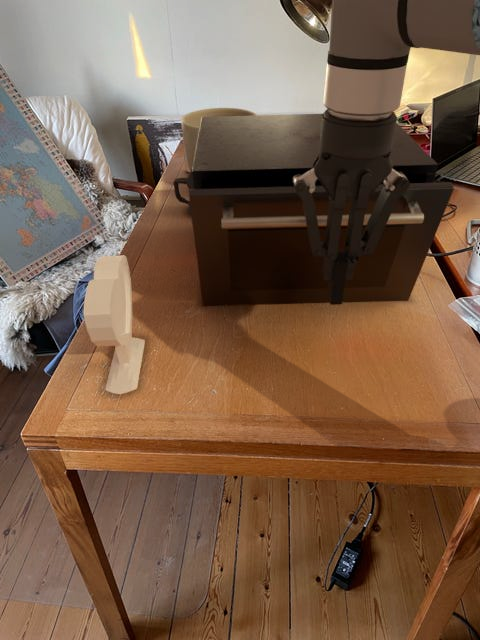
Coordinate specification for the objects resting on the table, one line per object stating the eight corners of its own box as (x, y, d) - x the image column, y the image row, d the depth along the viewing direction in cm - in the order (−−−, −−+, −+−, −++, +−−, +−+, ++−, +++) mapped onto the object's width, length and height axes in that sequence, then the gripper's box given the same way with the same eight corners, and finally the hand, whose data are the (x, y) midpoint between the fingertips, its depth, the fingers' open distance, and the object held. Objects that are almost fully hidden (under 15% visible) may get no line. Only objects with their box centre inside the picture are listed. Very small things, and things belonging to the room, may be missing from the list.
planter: (257, 199, 127) (257, 128, 115) (183, 199, 128) (175, 129, 116) (258, 172, 143) (258, 107, 131) (192, 172, 144) (186, 107, 132)
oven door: (413, 315, 86) (462, 203, 66) (202, 321, 86) (187, 211, 66) (406, 294, 90) (451, 182, 70) (203, 300, 90) (189, 189, 70)
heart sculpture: (135, 397, 71) (112, 304, 59) (102, 399, 70) (73, 306, 59) (146, 333, 83) (129, 245, 72) (118, 334, 83) (97, 246, 71)
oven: (405, 295, 90) (438, 164, 74) (203, 300, 90) (191, 171, 74) (367, 221, 115) (386, 111, 99) (209, 225, 115) (201, 116, 99)
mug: (223, 203, 125) (221, 163, 118) (219, 218, 118) (217, 176, 111) (180, 203, 126) (176, 162, 119) (173, 217, 119) (168, 175, 112)
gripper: (412, 99, 49) (376, 281, 64) (291, 102, 49) (283, 283, 64) (437, 119, 43) (390, 314, 58) (300, 122, 43) (288, 317, 58)
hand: (334, 298), depth 61 cm, fingers closed
